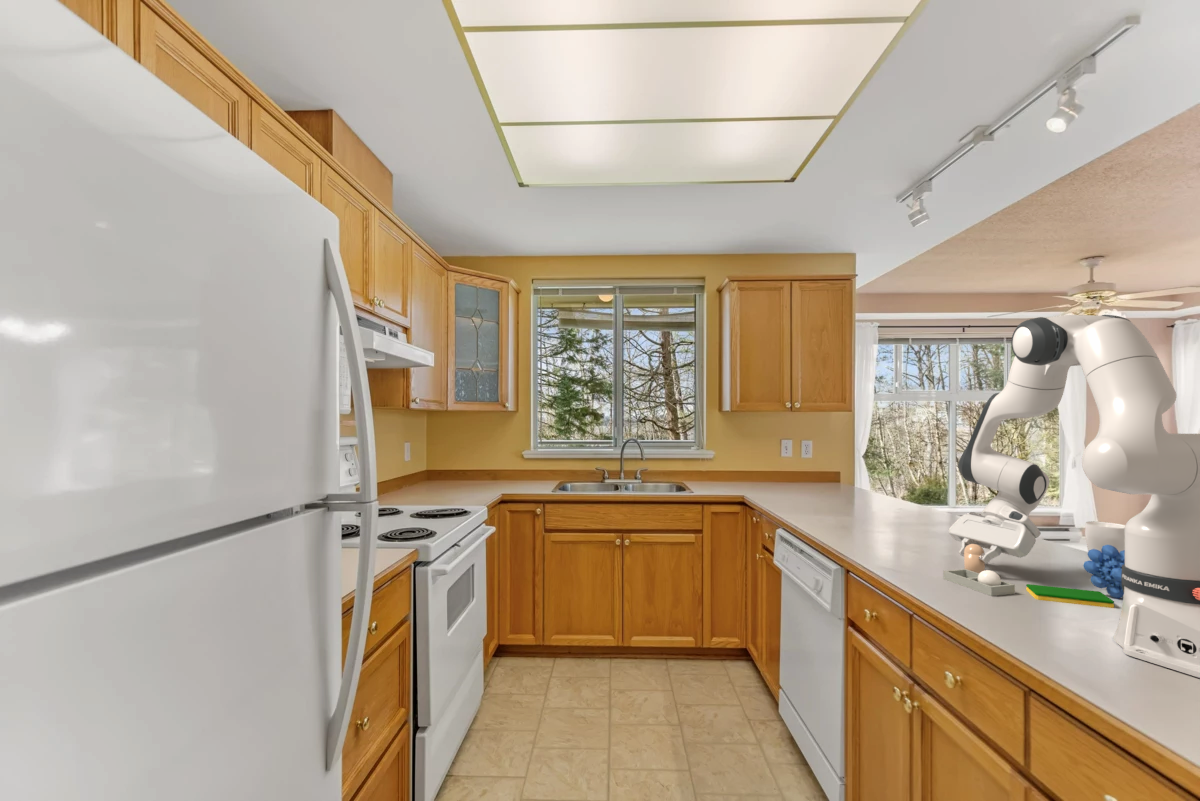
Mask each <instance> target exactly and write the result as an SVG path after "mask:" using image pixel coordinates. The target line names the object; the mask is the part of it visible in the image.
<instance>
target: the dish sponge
mask: <svg viewBox="0 0 1200 801" xmlns="http://www.w3.org/2000/svg"><path fill="white" fill-rule="evenodd" d="M1025 587H1026V588H1025V589H1026V592H1028V593H1029V595H1030V596H1032V597H1033V598H1034V599H1035V600H1036V601H1037V600H1038V601H1046V602H1054V603H1055V602H1056V603H1064V604H1074V605H1082V606H1092V607H1099V608H1100V607H1101V608H1110V609H1115V601H1114V600H1113V599H1112V598H1110V597H1109V596H1107V595H1106V594H1104V592H1102V591H1098V590H1090V589H1089V590H1087V589H1079V588H1078V589H1077V588H1068V587H1059V586H1049V585H1041V584H1032V583H1031V584H1029V583H1028V584H1026V585H1025Z"/></svg>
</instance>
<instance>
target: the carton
mask: <svg viewBox="0 0 1200 801" xmlns="http://www.w3.org/2000/svg"><path fill="white" fill-rule="evenodd" d="M978 575H979V573H976V572H973V571H970V570H967V569H964V568H960V569H951V570H948V569H947V570H943V578H942V579H943V580H944V581H947V582H951V583H953V584H957V585H959V586H962V587H965V588H966V589H970V590H973V591H976V592H979V593H982V594H984V595H987V596H990V597H996V596H1005V595H1006V596H1007V595H1015V594H1016V592H1015V591H1016V589H1015V587H1016V586H1015V584H1013V583H1010V582H1006V581H1005V580H1001V585H998V586H989V585H986V584H983V583H980V582H978Z"/></svg>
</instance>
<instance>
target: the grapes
mask: <svg viewBox="0 0 1200 801" xmlns="http://www.w3.org/2000/svg"><path fill="white" fill-rule="evenodd" d="M1101 551H1102V552H1101ZM1101 551H1099V550H1096V549H1091V550H1089V551H1088V550H1087V557H1088V558H1090V559H1091V560H1092V561H1090V559H1089V560H1086V561H1084V563H1083V565H1082V567H1083V569H1084V570H1085V571H1086V572H1087V573H1088V574H1091V577H1090V581H1091V583H1092V585H1093V586H1095V588H1099V589H1105V588H1106V589H1105V590H1106V593H1107V594H1108V595H1109V596H1111V597H1112V598H1114V599H1121V598H1123V597H1124V592H1123V589H1122V583H1121V574H1122V565H1123V564H1125V550H1123V551H1120V553H1119V552H1118V550H1117V549H1116V548H1115V547H1114V546H1111V545H1105V546H1103V547H1102V550H1101Z"/></svg>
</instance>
